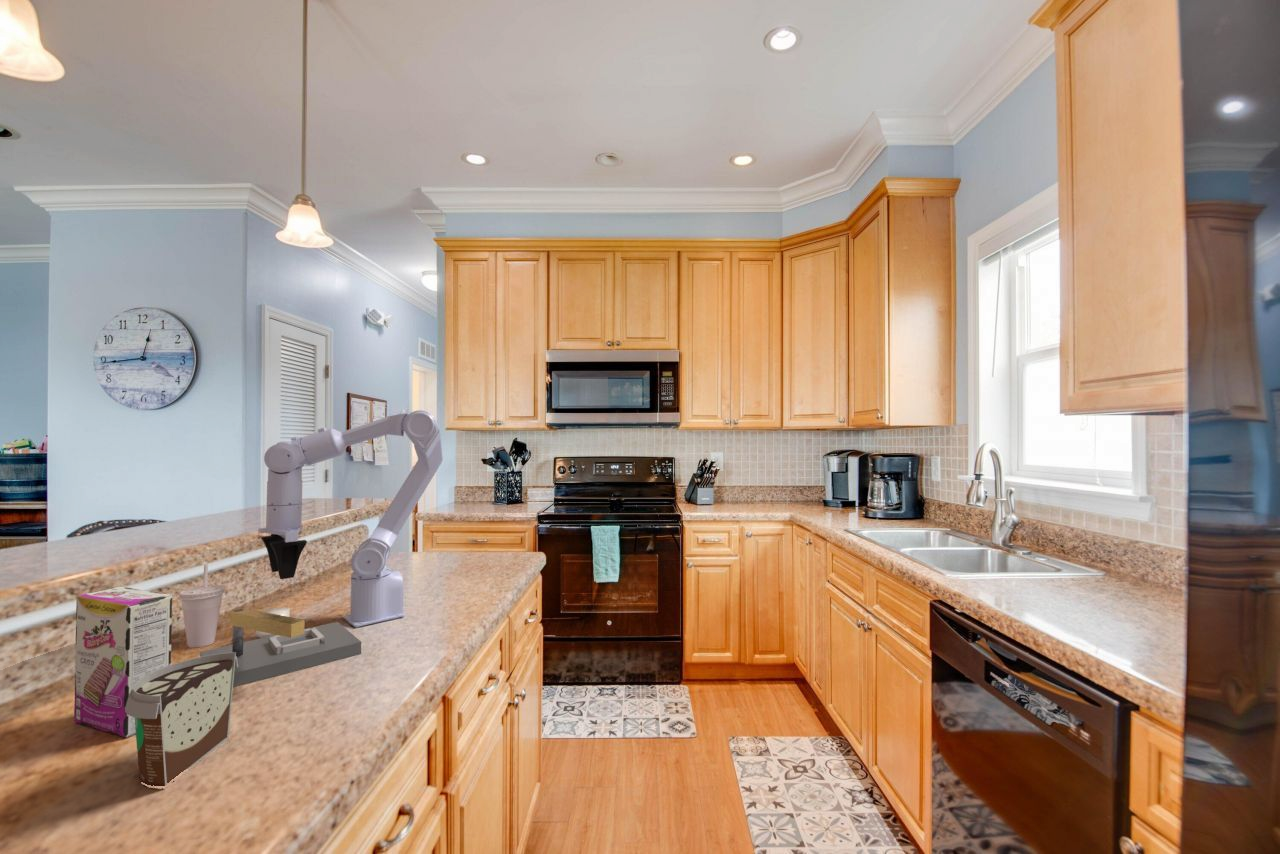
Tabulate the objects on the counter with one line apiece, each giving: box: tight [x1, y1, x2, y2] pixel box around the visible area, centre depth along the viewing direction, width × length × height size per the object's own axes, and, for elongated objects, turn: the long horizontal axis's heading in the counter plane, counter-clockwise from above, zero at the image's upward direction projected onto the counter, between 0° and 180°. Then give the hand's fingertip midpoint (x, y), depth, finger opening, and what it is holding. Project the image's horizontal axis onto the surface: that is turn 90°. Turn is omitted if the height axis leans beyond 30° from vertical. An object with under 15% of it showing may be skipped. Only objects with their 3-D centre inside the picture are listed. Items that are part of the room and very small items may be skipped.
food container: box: [125, 652, 238, 786], centre depth 59 cm, size 12×6×10 cm, turn 5°
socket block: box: [199, 621, 362, 688], centre depth 87 cm, size 20×14×3 cm
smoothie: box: [178, 563, 226, 649], centre depth 94 cm, size 6×6×14 cm
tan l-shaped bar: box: [228, 607, 306, 657], centre depth 80 cm, size 15×2×7 cm, turn 67°
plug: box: [254, 606, 291, 639], centre depth 96 cm, size 6×6×5 cm
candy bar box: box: [73, 586, 173, 738], centre depth 67 cm, size 11×5×16 cm, turn 71°
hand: (282, 574), depth 101 cm, fingers open, 7 cm apart
